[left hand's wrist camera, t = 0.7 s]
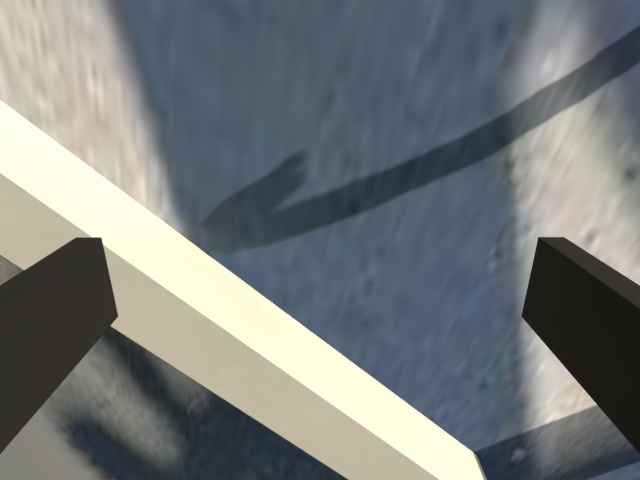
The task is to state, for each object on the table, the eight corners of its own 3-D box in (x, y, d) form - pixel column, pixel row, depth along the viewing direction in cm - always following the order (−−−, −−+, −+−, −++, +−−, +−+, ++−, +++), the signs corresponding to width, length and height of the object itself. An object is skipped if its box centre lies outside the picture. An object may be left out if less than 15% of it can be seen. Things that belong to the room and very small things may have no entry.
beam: (-274, -18, 31) (-476, -52, 23) (-253, -89, 29) (-463, -151, 22) (440, 480, 51) (462, 553, 43) (476, 455, 50) (506, 526, 42)
